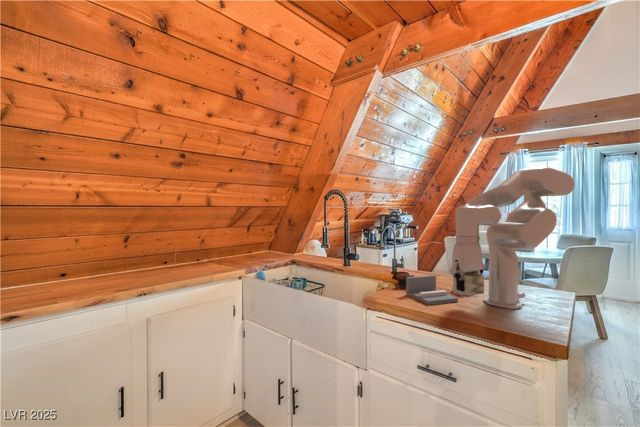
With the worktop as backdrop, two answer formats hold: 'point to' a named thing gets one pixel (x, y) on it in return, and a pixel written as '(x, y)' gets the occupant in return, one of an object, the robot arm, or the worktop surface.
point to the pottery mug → (401, 279)
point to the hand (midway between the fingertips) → (468, 288)
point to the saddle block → (471, 283)
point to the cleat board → (427, 290)
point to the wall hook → (459, 292)
